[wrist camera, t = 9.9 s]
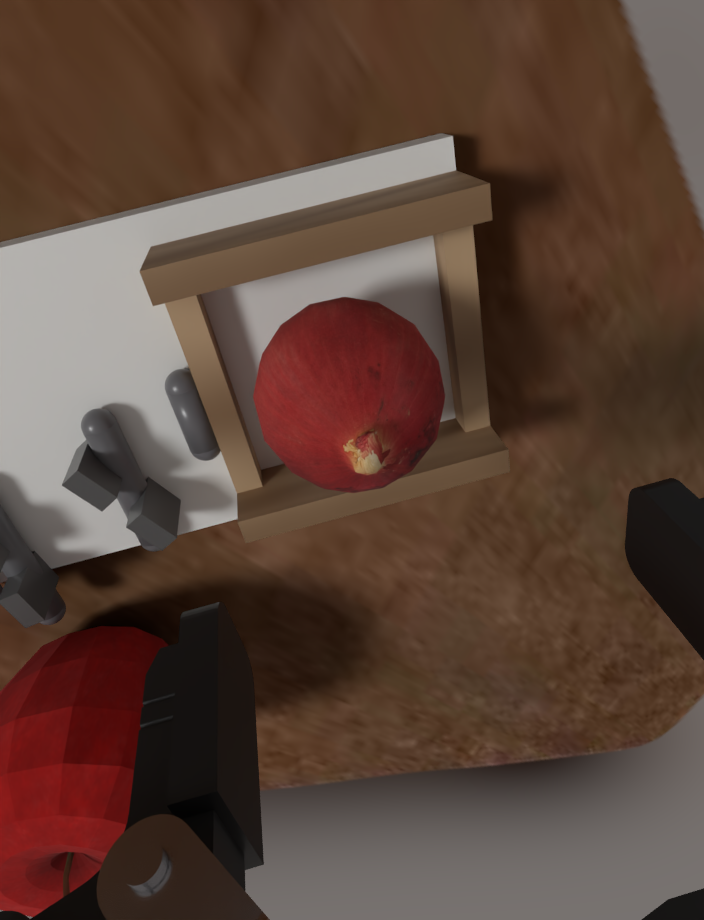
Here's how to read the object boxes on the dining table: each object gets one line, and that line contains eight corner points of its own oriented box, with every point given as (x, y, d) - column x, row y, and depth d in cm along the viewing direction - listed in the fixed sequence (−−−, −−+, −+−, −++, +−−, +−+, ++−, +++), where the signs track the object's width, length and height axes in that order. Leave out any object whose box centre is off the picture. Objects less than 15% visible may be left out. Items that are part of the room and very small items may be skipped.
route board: (-296, 315, 19) (-393, 359, 16) (441, 133, 20) (479, 142, 17) (-47, 620, 27) (-81, 688, 24) (477, 478, 28) (508, 526, 25)
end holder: (150, 246, 19) (139, 271, 17) (455, 170, 20) (489, 183, 17) (244, 496, 25) (245, 543, 22) (481, 432, 25) (509, 471, 22)
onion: (442, 328, 22) (533, 431, 16) (353, 448, 24) (399, 586, 17) (309, 237, 20) (347, 311, 13) (221, 378, 22) (216, 506, 15)
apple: (72, 544, 26) (-11, 795, 17) (254, 630, 30) (266, 865, 21) (-40, 680, 29) (-164, 958, 20) (141, 741, 33) (109, 990, 24)
